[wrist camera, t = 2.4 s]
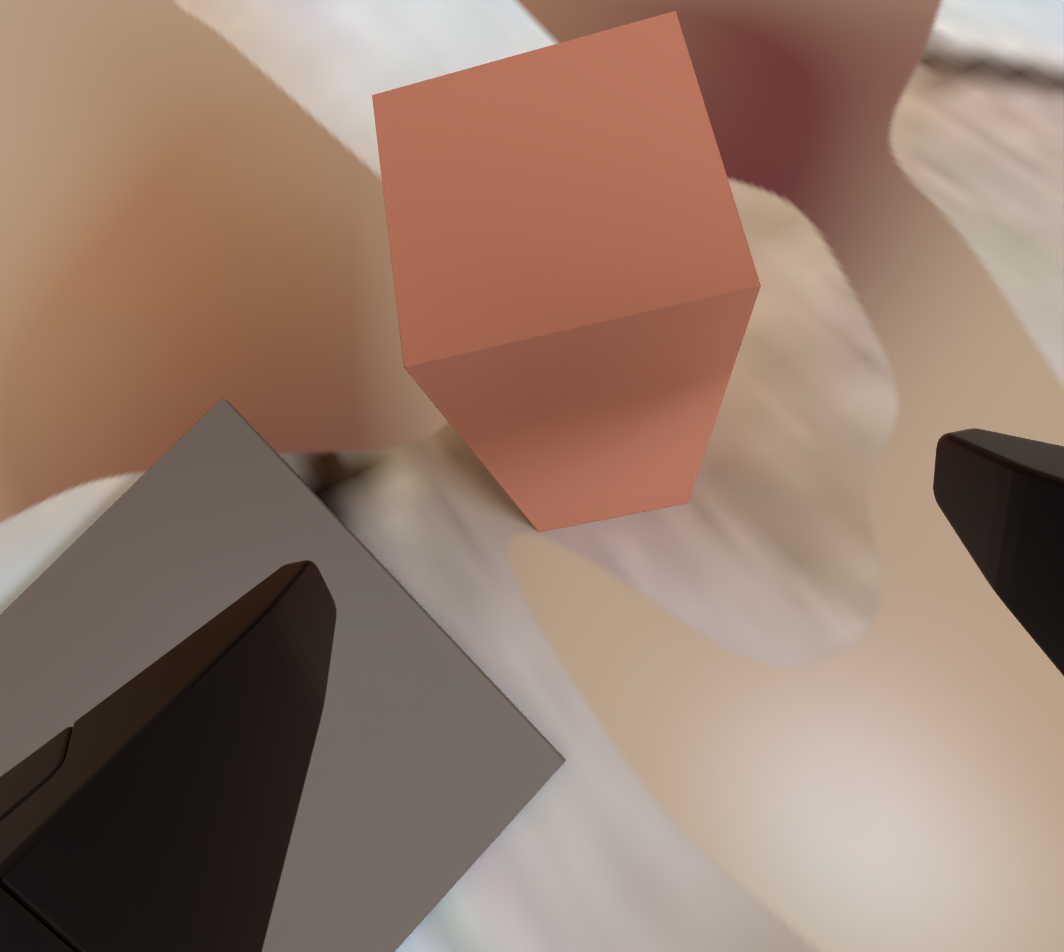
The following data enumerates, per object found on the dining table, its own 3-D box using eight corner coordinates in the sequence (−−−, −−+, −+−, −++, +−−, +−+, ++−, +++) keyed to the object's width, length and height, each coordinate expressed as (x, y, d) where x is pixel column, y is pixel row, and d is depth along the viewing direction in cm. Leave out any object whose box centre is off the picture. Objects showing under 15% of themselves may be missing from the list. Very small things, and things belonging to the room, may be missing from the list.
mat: (565, 759, 19) (564, 762, 19) (127, 1248, 18) (116, 1262, 17) (228, 401, 25) (222, 397, 24) (-132, 754, 23) (-145, 756, 23)
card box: (687, 503, 21) (761, 285, 9) (538, 532, 21) (404, 367, 9) (654, 366, 22) (675, 11, 10) (515, 397, 23) (372, 95, 10)
